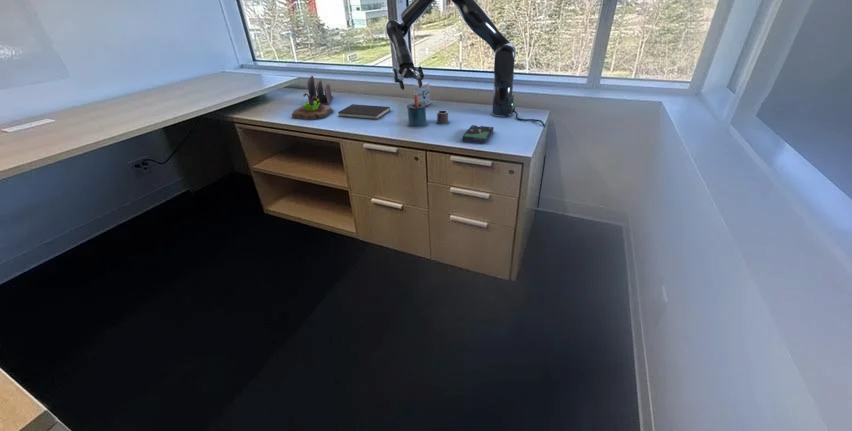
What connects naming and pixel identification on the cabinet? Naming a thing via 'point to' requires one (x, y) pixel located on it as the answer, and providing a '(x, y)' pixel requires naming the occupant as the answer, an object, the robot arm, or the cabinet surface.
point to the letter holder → (319, 92)
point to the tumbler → (417, 117)
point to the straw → (416, 100)
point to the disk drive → (477, 134)
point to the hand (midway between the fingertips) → (412, 87)
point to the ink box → (423, 93)
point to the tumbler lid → (416, 107)
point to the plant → (311, 110)
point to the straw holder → (442, 117)
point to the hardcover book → (364, 111)
